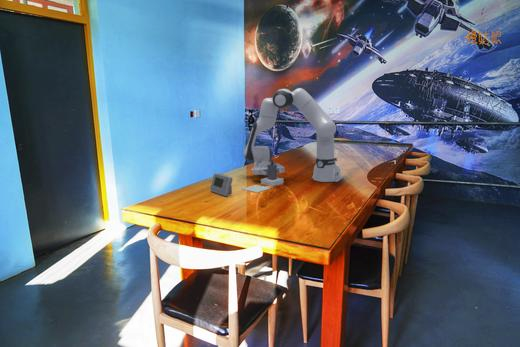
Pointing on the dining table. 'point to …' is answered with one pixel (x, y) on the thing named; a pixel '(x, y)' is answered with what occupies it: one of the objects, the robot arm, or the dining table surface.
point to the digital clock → (221, 184)
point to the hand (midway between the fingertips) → (272, 172)
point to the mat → (256, 188)
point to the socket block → (272, 181)
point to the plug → (272, 171)
